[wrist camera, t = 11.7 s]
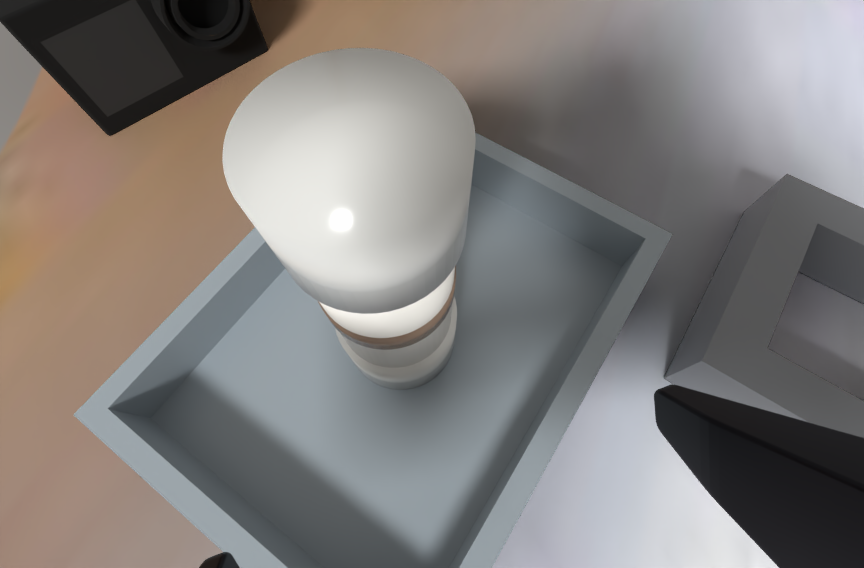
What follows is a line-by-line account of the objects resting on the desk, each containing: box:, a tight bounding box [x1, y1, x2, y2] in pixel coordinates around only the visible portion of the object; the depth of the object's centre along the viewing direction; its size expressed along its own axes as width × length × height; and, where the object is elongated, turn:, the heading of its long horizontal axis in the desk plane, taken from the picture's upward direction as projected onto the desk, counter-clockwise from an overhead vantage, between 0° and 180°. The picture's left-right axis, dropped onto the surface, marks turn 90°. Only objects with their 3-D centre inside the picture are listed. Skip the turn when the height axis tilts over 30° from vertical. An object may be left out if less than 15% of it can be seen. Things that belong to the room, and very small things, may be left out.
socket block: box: [664, 174, 864, 438], centre depth 18 cm, size 10×10×3 cm
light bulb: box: [223, 48, 476, 390], centre depth 13 cm, size 4×4×12 cm
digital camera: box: [0, 0, 268, 136], centre depth 23 cm, size 10×5×7 cm, turn 130°
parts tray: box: [74, 132, 673, 568], centre depth 18 cm, size 18×14×4 cm
